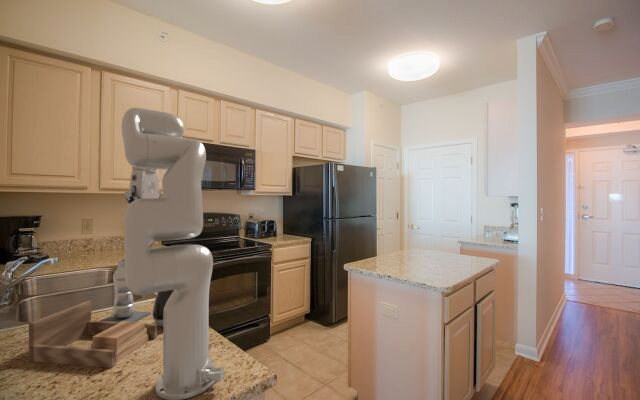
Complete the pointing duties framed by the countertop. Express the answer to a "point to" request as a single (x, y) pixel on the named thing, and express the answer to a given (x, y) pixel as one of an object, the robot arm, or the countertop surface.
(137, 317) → the mat
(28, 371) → the countertop surface
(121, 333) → the offcut stack
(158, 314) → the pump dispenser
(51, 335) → the rack
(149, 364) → the countertop surface
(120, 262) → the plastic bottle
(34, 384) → the countertop surface
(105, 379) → the countertop surface
